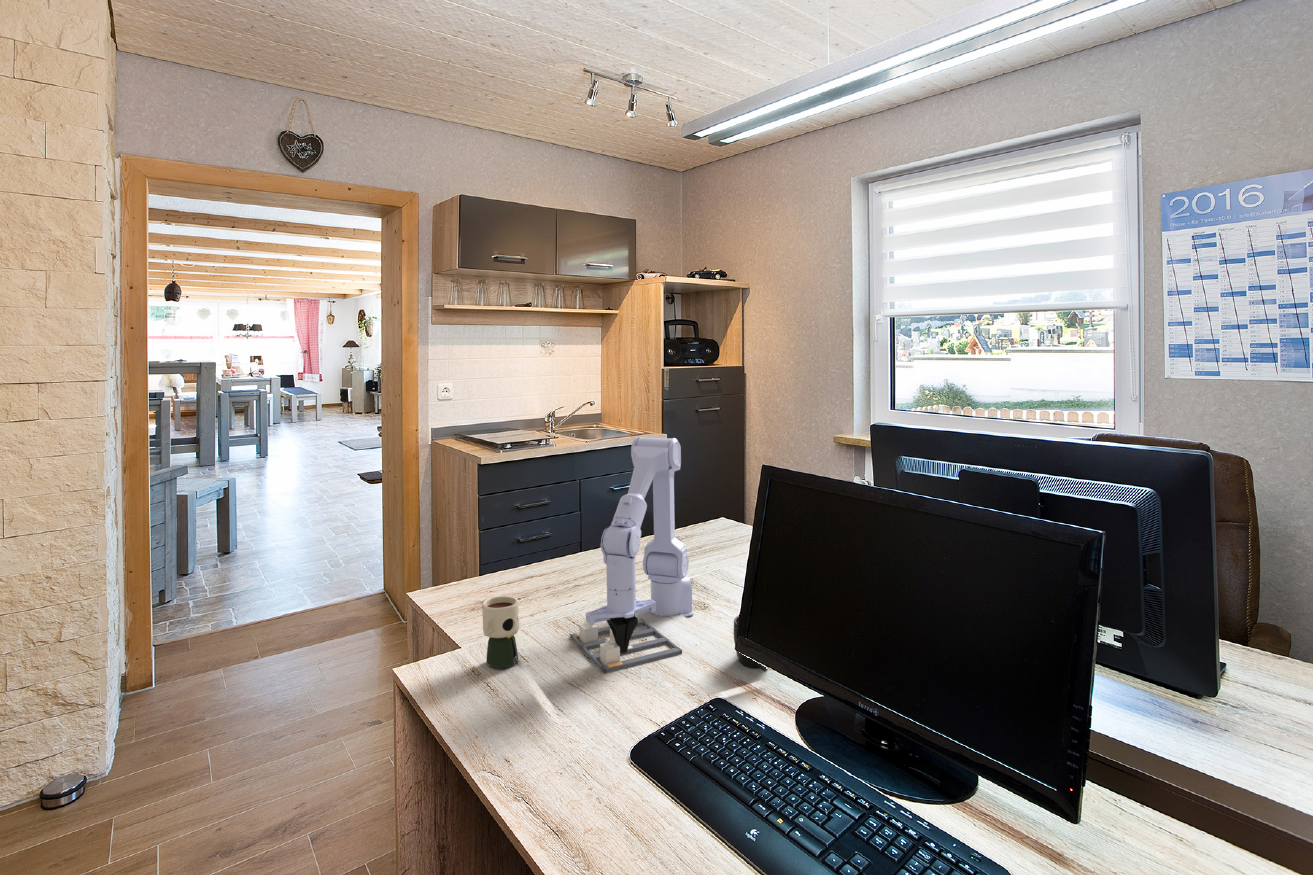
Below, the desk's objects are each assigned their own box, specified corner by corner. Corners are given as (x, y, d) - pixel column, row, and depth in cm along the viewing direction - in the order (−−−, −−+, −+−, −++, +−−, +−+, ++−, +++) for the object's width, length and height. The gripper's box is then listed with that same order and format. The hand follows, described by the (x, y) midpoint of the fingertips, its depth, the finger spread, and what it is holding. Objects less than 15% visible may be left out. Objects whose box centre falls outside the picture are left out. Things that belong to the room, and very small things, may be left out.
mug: (778, 651, 141) (778, 607, 139) (773, 678, 129) (774, 631, 128) (738, 647, 143) (739, 604, 141) (730, 673, 131) (731, 627, 130)
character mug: (502, 678, 130) (499, 614, 128) (471, 672, 132) (468, 609, 130) (532, 654, 140) (530, 594, 138) (503, 649, 142) (501, 590, 140)
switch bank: (642, 626, 153) (642, 618, 153) (682, 658, 138) (682, 649, 137) (570, 642, 145) (570, 634, 145) (604, 678, 130) (603, 669, 129)
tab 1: (592, 636, 145) (592, 618, 145) (598, 642, 143) (597, 623, 142) (579, 639, 144) (579, 621, 143) (584, 645, 141) (584, 626, 141)
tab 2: (613, 657, 136) (613, 638, 135) (620, 663, 133) (619, 643, 133) (600, 660, 134) (599, 641, 134) (606, 667, 132) (605, 647, 131)
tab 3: (622, 642, 143) (622, 623, 142) (629, 647, 140) (628, 629, 140) (610, 645, 141) (609, 626, 141) (616, 650, 139) (615, 631, 138)
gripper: (595, 599, 126) (596, 667, 128) (663, 585, 133) (663, 651, 135) (581, 587, 132) (582, 652, 134) (646, 575, 139) (647, 637, 141)
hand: (622, 651), depth 135 cm, fingers closed
